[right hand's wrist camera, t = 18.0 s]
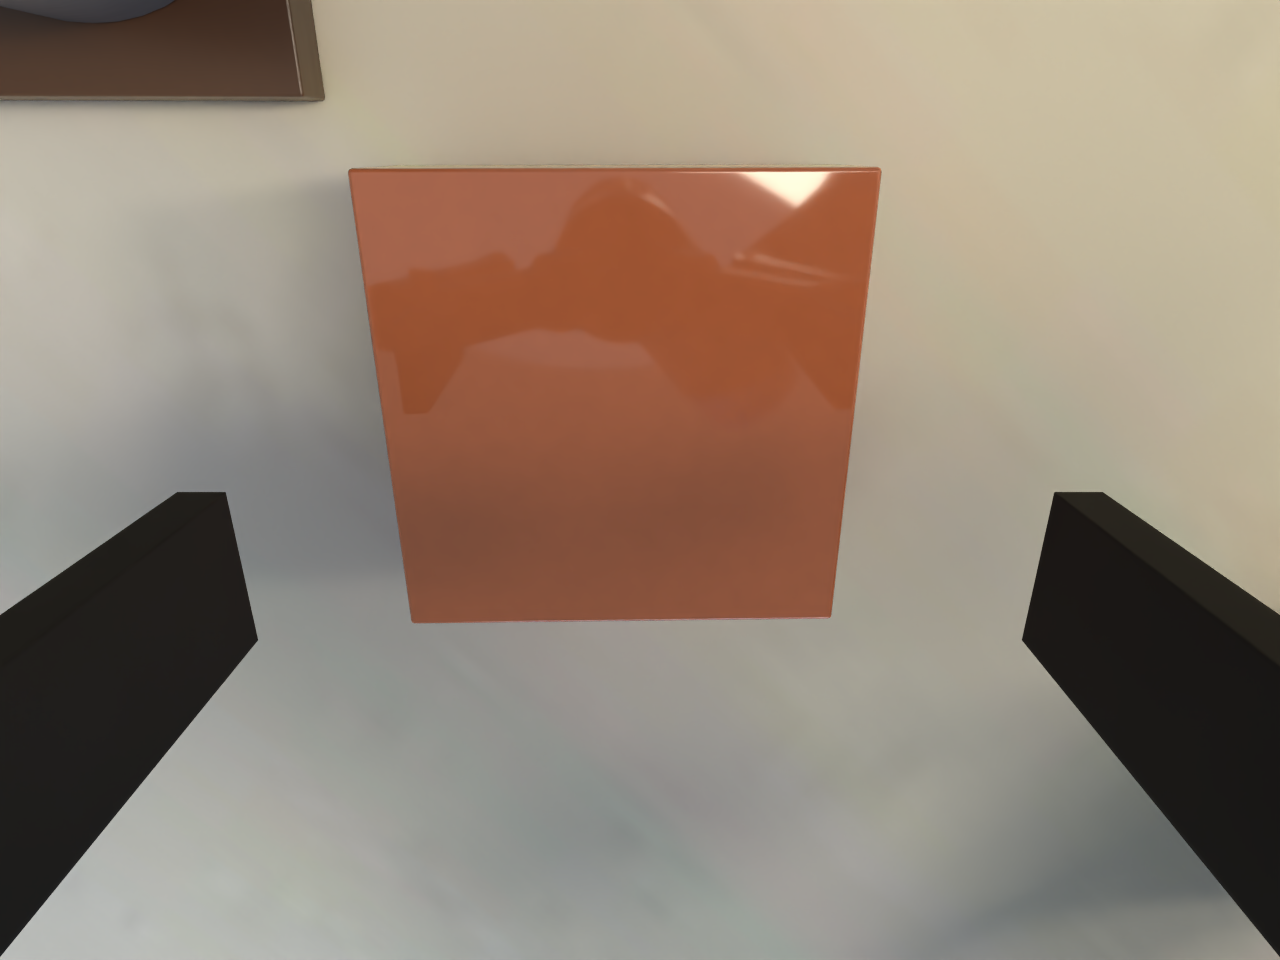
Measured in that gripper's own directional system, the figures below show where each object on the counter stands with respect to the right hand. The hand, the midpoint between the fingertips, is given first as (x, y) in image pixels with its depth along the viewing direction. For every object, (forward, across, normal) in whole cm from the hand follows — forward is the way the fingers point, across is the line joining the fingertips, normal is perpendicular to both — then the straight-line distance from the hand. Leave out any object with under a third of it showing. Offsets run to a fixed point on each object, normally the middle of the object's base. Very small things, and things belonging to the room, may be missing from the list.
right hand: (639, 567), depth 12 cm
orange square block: (+11, +1, -1) cm, 11 cm away
